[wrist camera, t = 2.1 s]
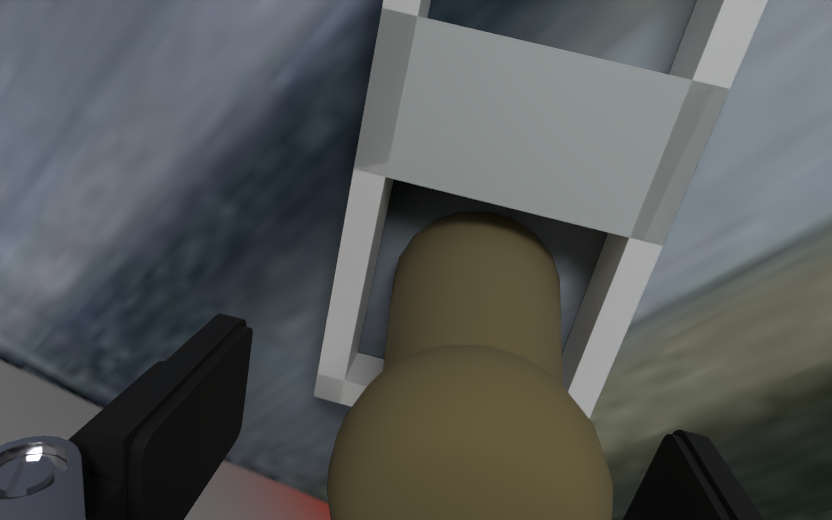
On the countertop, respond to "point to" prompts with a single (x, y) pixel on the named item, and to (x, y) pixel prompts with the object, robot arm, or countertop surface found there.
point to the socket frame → (531, 160)
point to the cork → (470, 391)
